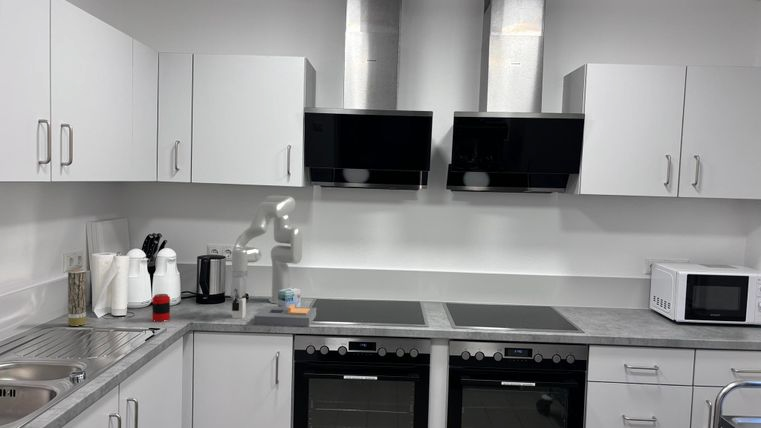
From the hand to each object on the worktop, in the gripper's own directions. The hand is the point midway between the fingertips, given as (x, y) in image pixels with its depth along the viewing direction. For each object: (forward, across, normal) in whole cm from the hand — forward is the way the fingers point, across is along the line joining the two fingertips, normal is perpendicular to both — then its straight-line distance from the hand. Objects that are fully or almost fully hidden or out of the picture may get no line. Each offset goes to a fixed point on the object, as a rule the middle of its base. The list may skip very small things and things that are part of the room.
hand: (238, 308), depth 255 cm
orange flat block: (0, +2, +30) cm, 30 cm away
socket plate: (+4, +2, +24) cm, 25 cm away
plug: (+4, 0, 0) cm, 4 cm away
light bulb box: (+4, -18, +21) cm, 28 cm away
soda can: (+5, +11, -34) cm, 36 cm away
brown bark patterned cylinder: (+5, +25, -66) cm, 71 cm away
